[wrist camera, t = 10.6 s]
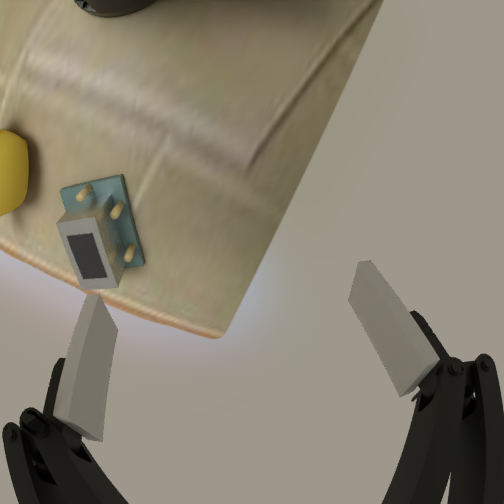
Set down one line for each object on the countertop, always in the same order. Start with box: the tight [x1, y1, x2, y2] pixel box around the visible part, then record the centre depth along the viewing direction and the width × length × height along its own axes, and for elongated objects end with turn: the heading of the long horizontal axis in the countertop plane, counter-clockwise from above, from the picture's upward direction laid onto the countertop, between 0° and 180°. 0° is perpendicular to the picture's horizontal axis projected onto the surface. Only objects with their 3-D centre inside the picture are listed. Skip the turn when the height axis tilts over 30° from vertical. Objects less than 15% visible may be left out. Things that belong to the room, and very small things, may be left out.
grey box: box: [56, 194, 126, 290], centre depth 33 cm, size 11×6×7 cm, turn 0°
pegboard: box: [60, 174, 145, 268], centre depth 35 cm, size 15×10×5 cm
